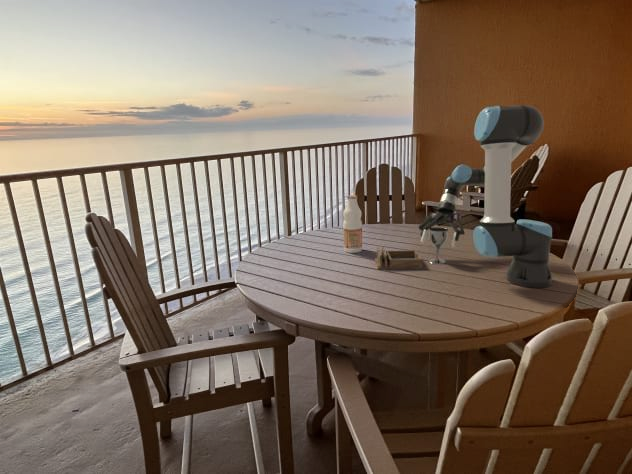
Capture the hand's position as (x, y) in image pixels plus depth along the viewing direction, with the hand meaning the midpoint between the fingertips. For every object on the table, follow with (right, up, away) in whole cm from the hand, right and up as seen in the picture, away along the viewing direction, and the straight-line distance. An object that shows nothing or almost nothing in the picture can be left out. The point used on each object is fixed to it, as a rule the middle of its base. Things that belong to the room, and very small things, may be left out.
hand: (436, 244), depth 169 cm
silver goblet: (+1, -8, +2) cm, 8 cm away
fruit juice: (-35, -4, +23) cm, 42 cm away
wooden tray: (-17, -8, +1) cm, 19 cm away
